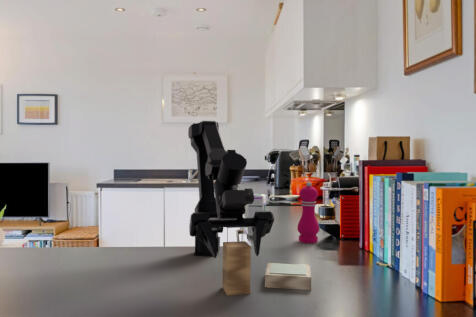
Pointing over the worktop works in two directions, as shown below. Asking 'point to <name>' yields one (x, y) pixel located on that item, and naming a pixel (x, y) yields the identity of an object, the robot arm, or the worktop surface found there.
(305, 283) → the plinth
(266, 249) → the worktop surface
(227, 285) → the oak block
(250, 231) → the syrup box
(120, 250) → the worktop surface
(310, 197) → the pepper mill
